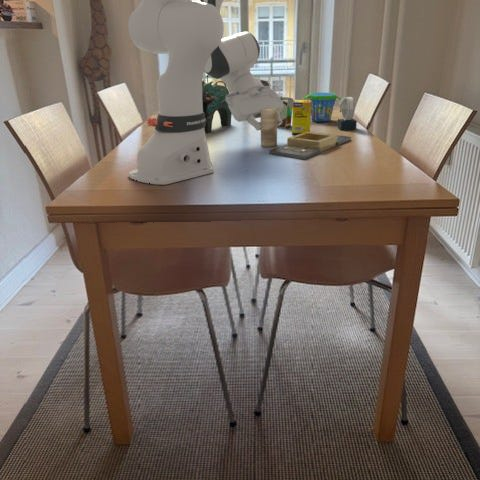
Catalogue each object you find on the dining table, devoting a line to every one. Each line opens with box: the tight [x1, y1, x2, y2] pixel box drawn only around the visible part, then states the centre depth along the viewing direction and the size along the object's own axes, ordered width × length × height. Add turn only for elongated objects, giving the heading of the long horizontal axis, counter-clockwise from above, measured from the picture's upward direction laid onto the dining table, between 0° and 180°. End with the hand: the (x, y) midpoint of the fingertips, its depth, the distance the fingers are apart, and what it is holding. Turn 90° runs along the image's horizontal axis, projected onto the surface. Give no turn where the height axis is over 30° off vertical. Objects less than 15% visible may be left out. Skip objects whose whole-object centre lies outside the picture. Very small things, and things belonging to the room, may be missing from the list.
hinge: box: [268, 131, 352, 160], centre depth 137 cm, size 29×12×3 cm, turn 142°
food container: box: [277, 96, 295, 129], centre depth 167 cm, size 12×6×10 cm, turn 34°
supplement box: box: [291, 99, 312, 136], centre depth 153 cm, size 6×6×11 cm
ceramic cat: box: [202, 74, 233, 134], centre depth 163 cm, size 20×6×20 cm, turn 150°
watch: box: [337, 96, 358, 131], centre depth 159 cm, size 6×8×11 cm
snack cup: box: [302, 92, 342, 123], centre depth 174 cm, size 16×10×10 cm
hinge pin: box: [260, 108, 278, 148], centre depth 138 cm, size 5×5×11 cm
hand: (270, 126), depth 137 cm, fingers open, 8 cm apart
